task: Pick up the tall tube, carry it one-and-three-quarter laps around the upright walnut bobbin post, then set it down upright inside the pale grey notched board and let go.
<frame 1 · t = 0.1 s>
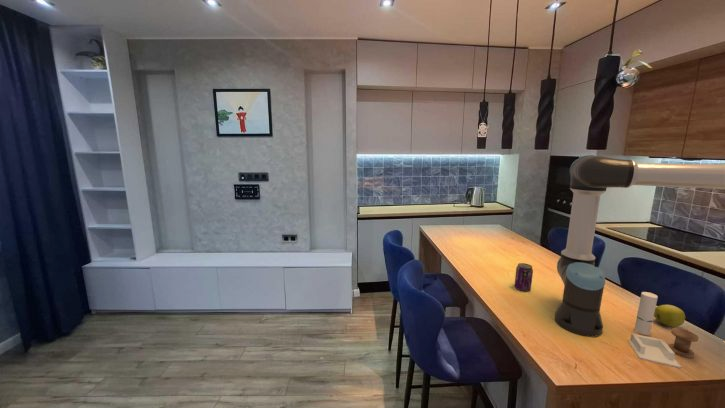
beverage can: (522, 289, 143), on the worktop
bobbin post: (680, 351, 99), on the worktop
tube: (641, 332, 110), on the worktop
notch board: (652, 353, 98), on the worktop
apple: (667, 325, 114), on the worktop
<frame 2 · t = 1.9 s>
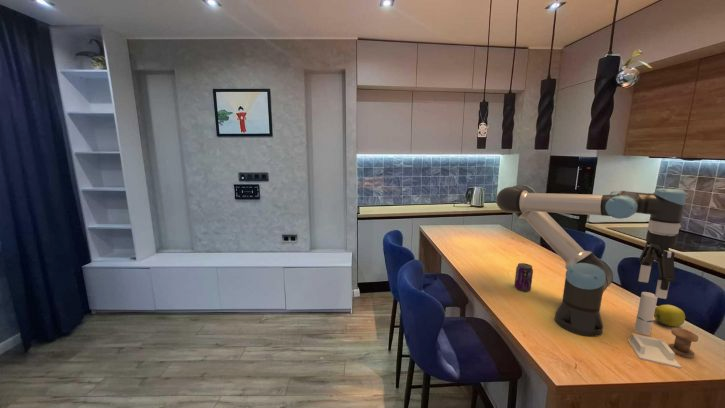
hand: (651, 289, 106), 17 cm above the worktop, fingers open, 13 cm apart
nothing on the worktop moved.
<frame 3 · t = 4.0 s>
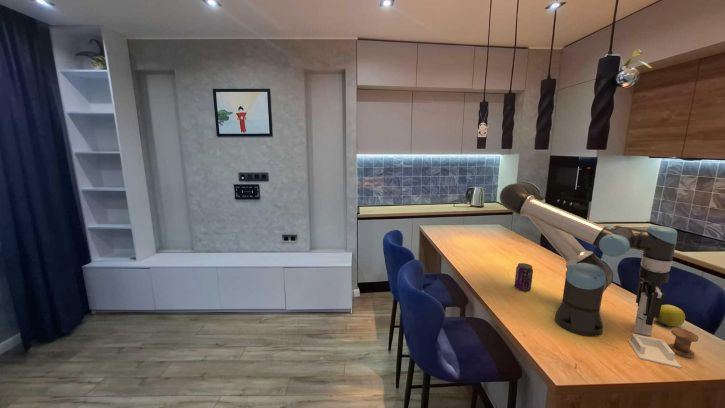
hand: (642, 327, 109), 2 cm above the worktop, fingers closed on tube, 4 cm apart
tube: (642, 332, 110), on the worktop, touching gripper
everything else where it was.
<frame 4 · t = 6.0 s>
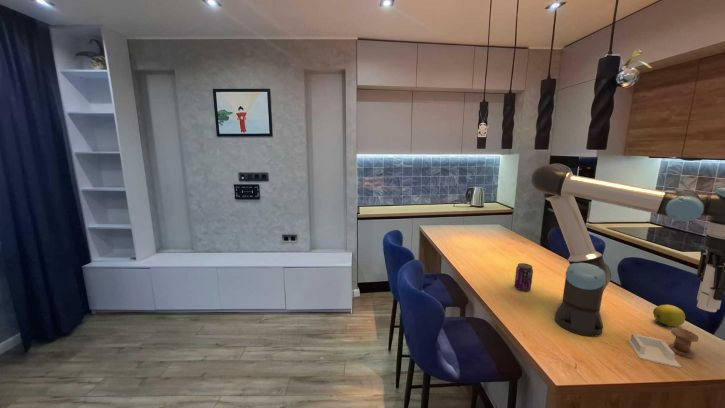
hand: (707, 304, 97), 17 cm above the worktop, fingers closed on tube, 4 cm apart
tube: (706, 309, 98), point 15 cm above the worktop, touching gripper
everything else where it was.
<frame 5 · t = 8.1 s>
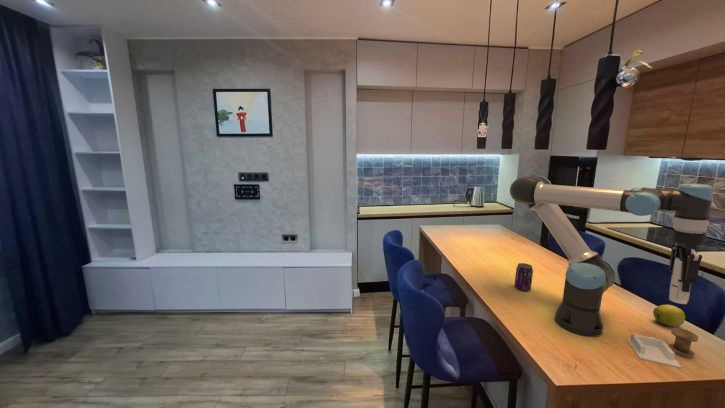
hand: (678, 296, 101), 17 cm above the worktop, fingers closed on tube, 4 cm apart
tube: (677, 301, 101), point 16 cm above the worktop, touching gripper
everything else where it was.
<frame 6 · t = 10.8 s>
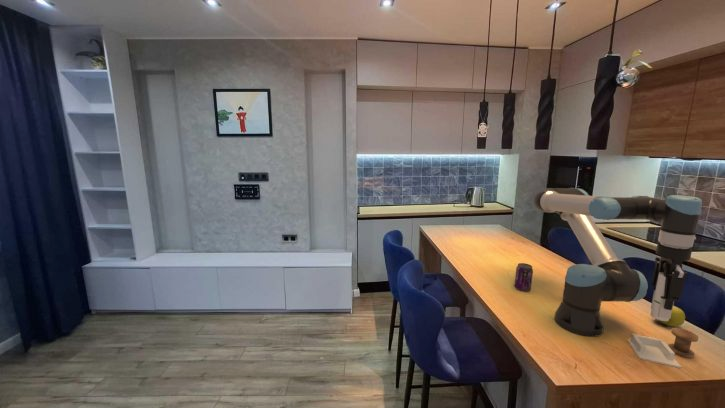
hand: (660, 313, 96), 15 cm above the worktop, fingers closed on tube, 4 cm apart
tube: (659, 318, 96), point 13 cm above the worktop, touching gripper
everything else where it was.
when the fingers open (4 cm above the worktop, at t = 12.7 s): tube drops 2 cm, resting on notch board.
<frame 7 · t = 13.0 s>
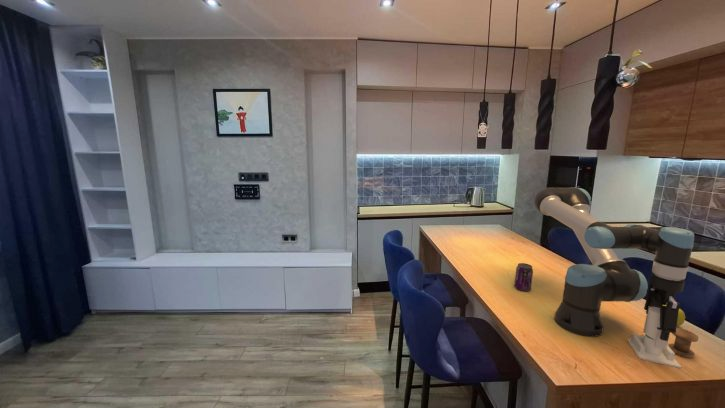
hand: (654, 340, 98), 5 cm above the worktop, fingers open, 7 cm apart
tube: (651, 351, 98), resting on notch board
everything else where it was.
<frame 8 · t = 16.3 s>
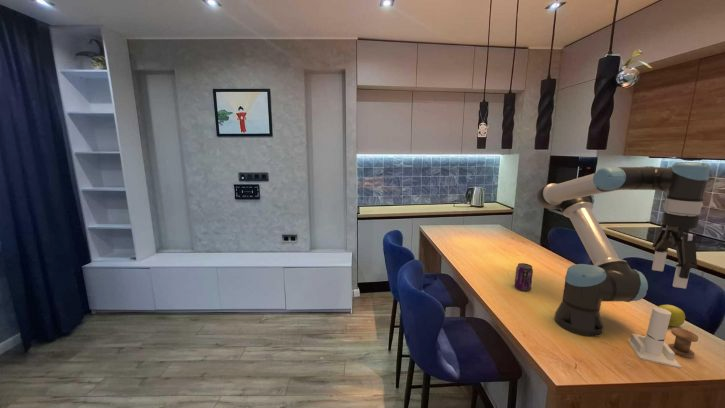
hand: (667, 278, 94), 27 cm above the worktop, fingers open, 13 cm apart
at the end: tube inside the target area on the notch board (0.0 cm from its centre), point 0.4 cm above the notch board's base; tube tilted 1°; the gripper is holding nothing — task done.
